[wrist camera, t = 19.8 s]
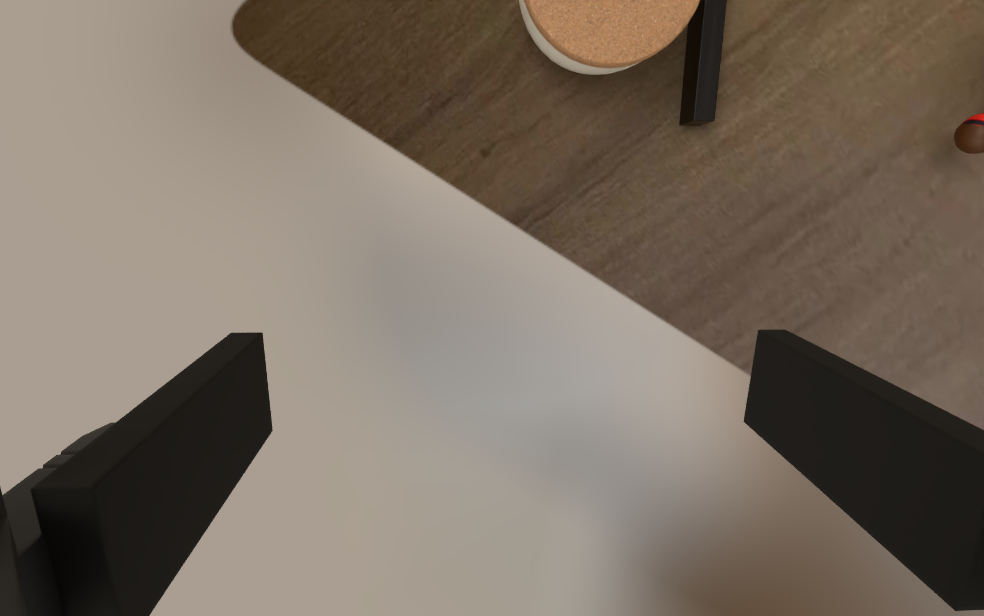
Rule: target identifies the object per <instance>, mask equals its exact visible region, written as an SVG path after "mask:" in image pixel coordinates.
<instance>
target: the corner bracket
mask: <svg viewBox="0 0 984 616" xmlns="http://www.w3.org/2000/svg"><path fill="white" fill-rule="evenodd" d="M726 2H727V0H700V2H699V4H698V7H697V9H696V11H695V13H694V14H693V16H692V18H691V19H690V21H689V24H688V35H687V46H686V57H685V68H684V80H683V91H682V102H681V113H680V125H692V126H699V125H702V124H706V123H709V122H712V121H714V119H715V110H716V100H717V90H718V80H719V70H720V61H721V51H722V41H723V31H724V21H725V12H726Z"/></svg>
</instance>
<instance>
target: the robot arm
mask: <svg viewBox="0 0 984 616" xmlns="http://www.w3.org/2000/svg"><path fill="white" fill-rule="evenodd" d="M744 422H745V423H746V424H747V425H748V426H749V427H750V428H751V429H753V430H754V431H755V432H756V433H757V434H758V435H759V436H760V437H762V438H763V439H764V440H765V441H766V442H767V443H768V444H769V445H770V446H772V447H773V448H774V449H775V450H776V451H777V452H778V453H780V454H781V455H782V456H783V457H784V458H785V459H786V460H787V461H788V462H789V463H791V464H792V465H793V466H794V467H795V468H796V469H797V470H798V471H800V472H801V473H802V474H803V475H804V476H805V477H806V478H807V479H808V480H810V481H811V482H812V483H813V484H814V485H815V486H816V487H818V488H819V489H820V490H821V491H822V492H823V493H824V494H825V495H826V496H828V497H829V498H830V499H831V500H832V501H833V502H834V503H836V505H838V506H839V507H840V508H841V509H842V510H843V511H844V512H845V513H847V514H848V515H849V516H850V517H851V518H852V519H853V520H854V521H856V522H857V523H858V524H859V525H860V526H861V527H862V528H863V529H864V530H866V531H867V532H868V533H869V534H870V535H871V536H872V537H873V538H874V539H876V540H877V541H878V542H879V543H880V544H881V545H882V546H884V547H885V548H886V549H887V550H888V551H889V552H890V553H891V554H892V555H894V556H895V557H896V558H897V559H898V560H899V561H900V562H901V563H902V564H904V565H905V566H906V567H907V568H908V569H909V570H910V571H911V572H913V573H914V574H915V575H916V576H917V577H918V578H919V579H920V580H922V581H923V582H924V583H925V584H926V585H927V586H928V587H929V588H931V589H932V590H933V591H934V592H935V593H936V594H937V595H938V596H939V597H940V598H942V599H943V600H944V601H945V602H946V603H947V604H948V605H949V606H951V607H952V608H953V609H954V610H955V611H963V610H984V430H982V429H980V428H978V427H976V426H974V425H972V424H970V423H968V422H966V421H964V420H962V419H960V418H958V417H956V416H954V415H952V414H951V413H949V412H947V411H945V410H943V409H941V408H939V407H937V406H935V405H933V404H931V403H929V402H927V401H925V400H923V399H921V398H919V397H917V396H915V395H913V394H911V393H909V392H907V391H905V390H903V389H901V388H899V387H897V386H895V385H893V384H891V383H889V382H887V381H885V380H883V379H881V378H879V377H878V376H876V375H874V374H872V373H870V372H868V371H866V370H864V369H862V368H860V367H858V366H856V365H854V364H852V363H850V362H848V361H846V360H844V359H842V358H840V357H838V356H836V355H834V354H832V353H830V352H828V351H826V350H824V349H822V348H820V347H818V346H816V345H814V344H812V343H810V342H808V341H806V340H804V339H803V338H801V337H799V336H797V335H795V334H793V333H791V332H789V331H787V330H758V335H757V341H756V347H755V354H754V360H753V366H752V373H751V379H750V385H749V392H748V398H747V404H746V410H745V417H744ZM271 432H272V421H271V411H270V401H269V392H268V382H267V372H266V362H265V353H264V343H263V333H230V334H229V335H228V336H227V337H225V338H224V339H223V340H221V341H220V342H219V343H218V344H216V345H215V346H214V347H212V348H211V349H210V350H209V351H207V352H206V353H205V354H203V355H202V356H201V357H200V358H198V359H197V360H196V361H194V362H193V363H192V364H191V365H189V366H188V367H187V368H186V369H184V370H183V371H182V372H180V373H179V374H178V375H176V376H175V377H174V378H173V379H171V380H170V381H169V382H167V383H166V384H165V385H164V386H162V387H161V388H160V389H158V390H157V391H156V392H155V393H153V394H152V395H151V396H149V397H148V398H147V399H146V400H144V401H143V402H142V403H140V404H139V405H138V406H137V407H135V408H134V409H133V410H132V411H130V412H129V413H128V414H126V415H125V416H124V417H122V418H121V419H120V420H119V421H117V422H116V423H109V424H107V425H105V426H103V427H101V428H99V429H97V430H94V431H92V432H90V433H88V434H86V435H84V436H82V437H80V438H79V439H78V440H76V441H75V442H74V443H72V444H71V445H70V446H68V447H67V448H66V449H64V450H63V451H62V452H61V455H56V456H55V457H53V458H52V459H51V460H49V461H48V462H47V463H45V464H44V465H43V468H42V469H38V470H36V471H35V472H33V473H32V474H31V475H29V476H28V477H27V478H25V479H24V480H23V481H21V482H20V483H18V484H17V485H16V486H15V487H13V488H12V489H11V490H9V491H8V492H7V493H6V494H4V495H2V492H1V489H0V616H149V615H150V614H151V612H152V610H153V609H154V608H155V606H156V605H157V603H158V601H159V600H160V599H161V597H162V596H163V594H164V593H165V591H166V589H167V588H168V586H169V585H170V584H171V582H172V581H173V579H174V577H175V576H176V575H177V573H178V571H179V570H180V568H181V567H182V566H183V564H184V563H185V561H186V560H187V558H188V557H189V555H190V554H191V552H192V550H193V549H194V548H195V546H196V545H197V543H198V542H199V540H200V539H201V537H202V535H203V534H204V532H205V531H206V530H207V528H208V527H209V525H210V523H211V522H212V521H213V519H214V518H215V516H216V515H217V513H218V512H219V510H220V509H221V507H222V505H223V504H224V503H225V501H226V500H227V498H228V497H229V495H230V494H231V492H232V490H233V489H234V488H235V486H236V484H237V483H238V482H239V480H240V479H241V477H242V476H243V474H244V473H245V471H246V470H247V468H248V466H249V465H250V464H251V462H252V460H253V459H254V457H255V456H256V454H257V453H258V452H259V450H260V449H261V447H262V445H263V444H264V443H265V441H266V440H267V438H268V436H269V435H270V434H271Z"/></svg>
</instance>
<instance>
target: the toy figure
mask: <svg viewBox="0 0 984 616" xmlns="http://www.w3.org/2000/svg"><path fill="white" fill-rule="evenodd" d="M954 141H955V144H956V146H957V147H958V148H959V149H960V150H961V151H963V152H966V153H973V154H976V153H982V152H984V113H982V114H978V115H974V116H972V117H970V118H968V119H967V120H965V121H964V122H963V123H962V124H961V125H960V126H959V127H958V128H957V129H956V131H955V135H954Z"/></svg>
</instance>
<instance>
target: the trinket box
mask: <svg viewBox="0 0 984 616" xmlns="http://www.w3.org/2000/svg"><path fill="white" fill-rule="evenodd" d="M699 2H700V0H519V4H520V8H521V13H522V17H523V19H524V22H525V24H526V27H527V29H528V32H529V34H530V35H531V37H532V39H533V40H534V42H535V44H536V45H537V46H538V47H539V49H540V50H541V51H542V52H543V53H544V54H545V55H546V56H547V57H548V58H549V59H550V60H552V61H553V62H555V63H556V64H558V65H559V66H561V67H563V68H566V69H568V70H570V71H573V72H577V73H581V74H592V75H601V74H610V73H614V72H617V71H621V70H624V69H627V68H629V67H631V66H634V65H636V64H638V63H640V62H641V61H643V60H645V59H648V58H650V57H652V56H653V55H655V54H656V53H658V52H659V51H661V50H662V49H664V48H665V47H666V46H667V45H669V44H670V43H671V42H672V41H673V40H674V39H675V38H676V37H677V36H678V35H679V34H680V33H681V32H682V30H683V29H684V28H685V27H686V25H687V24H688V23H689V21H690V19H691V18H692V16H693V14H694V13H695V11H696V9H697V7H698V4H699Z"/></svg>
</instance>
